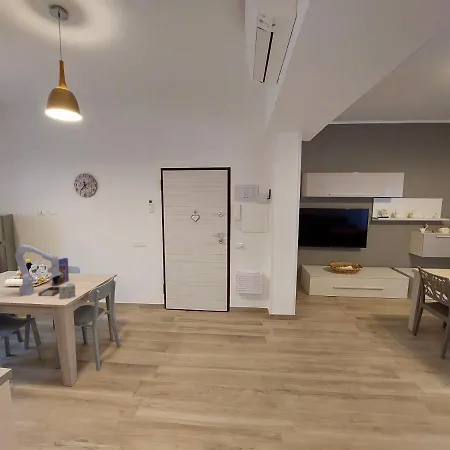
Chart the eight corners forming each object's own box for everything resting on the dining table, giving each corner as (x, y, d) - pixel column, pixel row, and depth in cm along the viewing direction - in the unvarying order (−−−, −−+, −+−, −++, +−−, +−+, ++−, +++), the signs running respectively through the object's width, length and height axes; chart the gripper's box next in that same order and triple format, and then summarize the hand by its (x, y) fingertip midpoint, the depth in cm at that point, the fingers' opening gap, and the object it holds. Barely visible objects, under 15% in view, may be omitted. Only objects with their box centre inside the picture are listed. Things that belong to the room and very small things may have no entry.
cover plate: (41, 295, 226) (41, 293, 226) (47, 292, 234) (47, 290, 234) (52, 295, 226) (52, 293, 226) (57, 292, 234) (57, 290, 234)
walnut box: (38, 296, 225) (38, 293, 225) (51, 290, 242) (51, 286, 242) (53, 296, 225) (53, 293, 225) (65, 290, 242) (65, 286, 242)
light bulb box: (72, 294, 231) (72, 282, 230) (75, 296, 227) (75, 284, 226) (58, 298, 223) (58, 285, 222) (62, 299, 218) (61, 287, 217)
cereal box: (57, 286, 253) (56, 261, 251) (52, 286, 253) (51, 261, 251) (68, 280, 270) (67, 258, 268) (64, 280, 270) (63, 257, 268)
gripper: (55, 271, 230) (55, 286, 231) (64, 267, 245) (65, 281, 246) (46, 271, 230) (47, 286, 231) (56, 267, 244) (57, 281, 246)
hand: (56, 284), depth 238 cm, fingers closed
